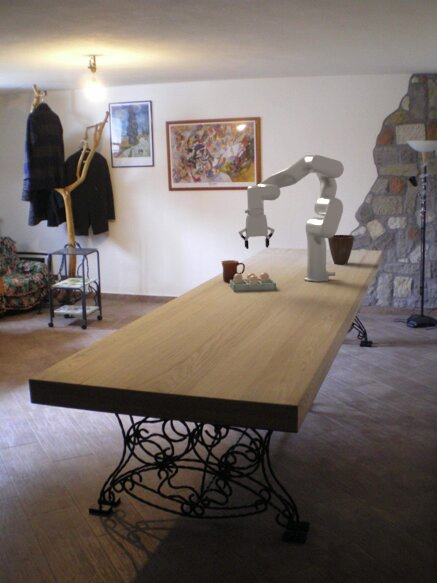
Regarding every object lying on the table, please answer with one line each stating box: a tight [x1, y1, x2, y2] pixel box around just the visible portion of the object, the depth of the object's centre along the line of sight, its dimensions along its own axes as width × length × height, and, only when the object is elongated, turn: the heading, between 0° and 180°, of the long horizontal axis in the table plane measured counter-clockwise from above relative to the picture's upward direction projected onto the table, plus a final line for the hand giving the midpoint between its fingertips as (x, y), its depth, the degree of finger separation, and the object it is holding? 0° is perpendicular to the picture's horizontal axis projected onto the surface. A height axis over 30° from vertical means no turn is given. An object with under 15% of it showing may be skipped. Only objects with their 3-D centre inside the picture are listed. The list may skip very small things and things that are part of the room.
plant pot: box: [327, 234, 355, 265], centre depth 381 cm, size 15×15×16 cm
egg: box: [249, 274, 259, 284], centre depth 315 cm, size 4×4×6 cm
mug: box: [221, 259, 246, 283], centre depth 336 cm, size 12×9×10 cm
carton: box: [229, 272, 277, 293], centre depth 318 cm, size 20×14×7 cm
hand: (257, 247), depth 315 cm, fingers open, 9 cm apart
